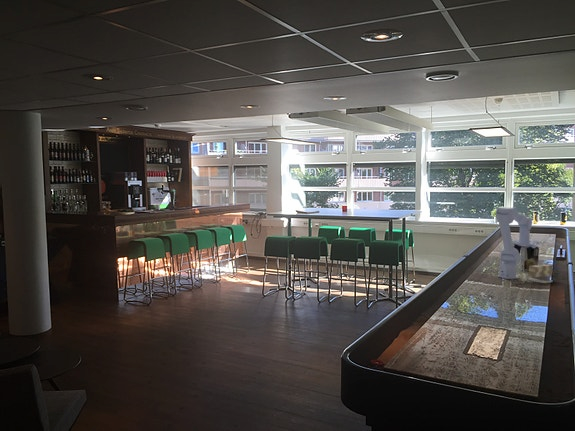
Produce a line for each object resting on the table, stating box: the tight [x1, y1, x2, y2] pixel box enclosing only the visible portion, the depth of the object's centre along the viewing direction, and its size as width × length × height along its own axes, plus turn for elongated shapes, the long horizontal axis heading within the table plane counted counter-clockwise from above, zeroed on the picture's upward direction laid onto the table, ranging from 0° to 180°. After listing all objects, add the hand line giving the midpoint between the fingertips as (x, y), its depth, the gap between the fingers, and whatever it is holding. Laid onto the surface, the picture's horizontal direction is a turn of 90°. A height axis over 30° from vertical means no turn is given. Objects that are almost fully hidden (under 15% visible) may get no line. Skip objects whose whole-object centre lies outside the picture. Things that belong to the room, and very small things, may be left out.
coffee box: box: [519, 245, 540, 272], centre depth 299 cm, size 9×6×16 cm
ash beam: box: [528, 263, 553, 278], centre depth 267 cm, size 16×4×6 cm, turn 116°
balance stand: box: [527, 276, 553, 284], centre depth 267 cm, size 8×10×3 cm
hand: (523, 257), depth 285 cm, fingers open, 7 cm apart
